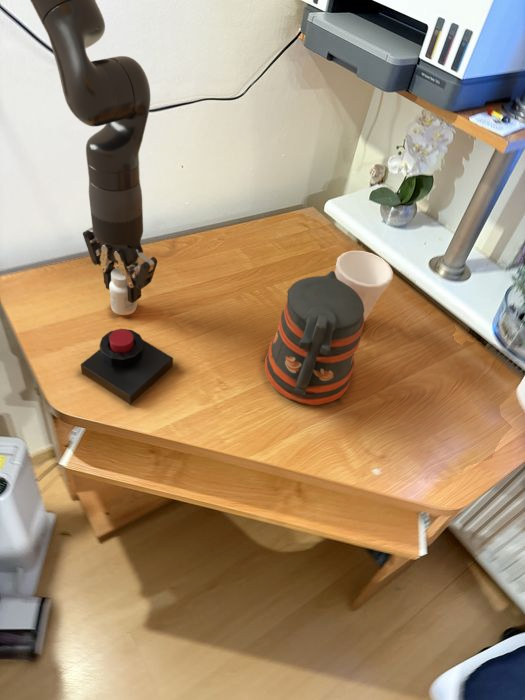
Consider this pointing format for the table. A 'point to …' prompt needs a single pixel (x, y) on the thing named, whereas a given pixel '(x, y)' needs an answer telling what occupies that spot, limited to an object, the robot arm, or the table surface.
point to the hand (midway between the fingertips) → (122, 293)
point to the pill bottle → (120, 294)
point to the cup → (364, 276)
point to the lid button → (121, 341)
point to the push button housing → (127, 368)
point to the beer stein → (316, 340)
